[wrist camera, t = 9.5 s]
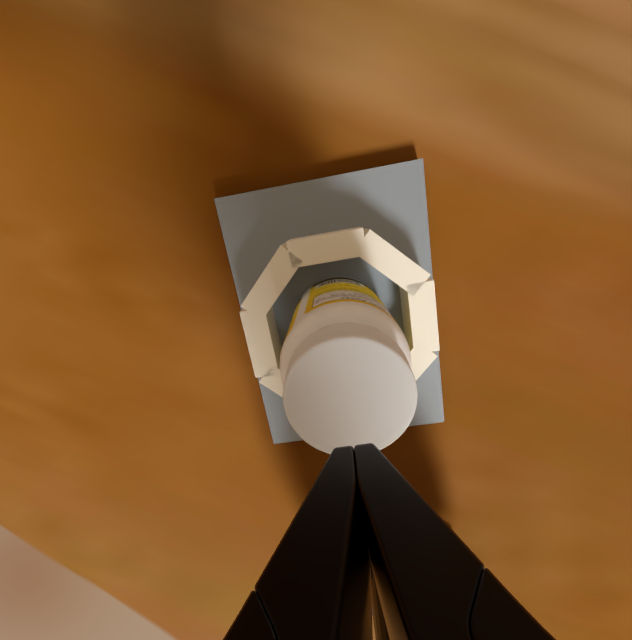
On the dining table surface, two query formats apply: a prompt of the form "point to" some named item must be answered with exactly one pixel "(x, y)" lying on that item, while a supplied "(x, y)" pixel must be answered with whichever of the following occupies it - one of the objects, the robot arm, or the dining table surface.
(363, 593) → the robot arm
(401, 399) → the supplement bottle
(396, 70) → the dining table surface
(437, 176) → the dining table surface
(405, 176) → the holder board
